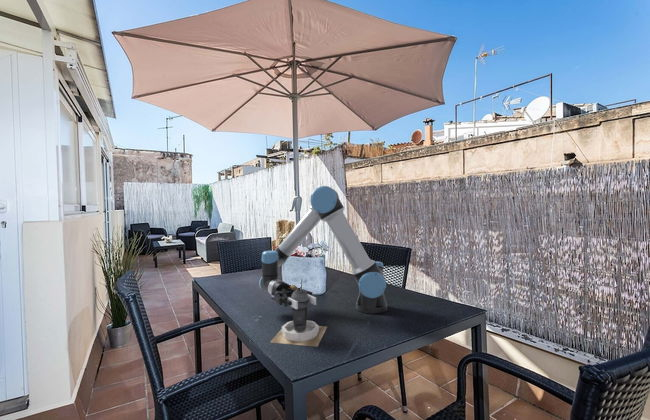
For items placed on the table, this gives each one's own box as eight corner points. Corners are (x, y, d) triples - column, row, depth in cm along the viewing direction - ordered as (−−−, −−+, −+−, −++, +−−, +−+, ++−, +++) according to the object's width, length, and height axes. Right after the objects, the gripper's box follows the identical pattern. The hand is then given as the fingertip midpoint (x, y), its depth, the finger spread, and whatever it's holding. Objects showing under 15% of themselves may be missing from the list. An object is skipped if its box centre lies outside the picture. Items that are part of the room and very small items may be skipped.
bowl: (322, 329, 125) (322, 322, 124) (308, 344, 112) (308, 336, 112) (292, 325, 130) (292, 318, 129) (276, 338, 117) (276, 330, 117)
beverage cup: (299, 324, 126) (299, 275, 125) (313, 328, 121) (312, 277, 121) (286, 329, 120) (286, 278, 120) (300, 334, 116) (299, 281, 115)
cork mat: (327, 328, 128) (327, 326, 128) (317, 348, 110) (317, 346, 110) (285, 324, 131) (285, 323, 131) (270, 343, 114) (270, 342, 114)
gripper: (299, 294, 141) (328, 307, 122) (257, 302, 130) (282, 319, 111) (299, 277, 141) (328, 289, 122) (257, 284, 129) (281, 298, 111)
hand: (306, 303), depth 116 cm, fingers open, 7 cm apart
